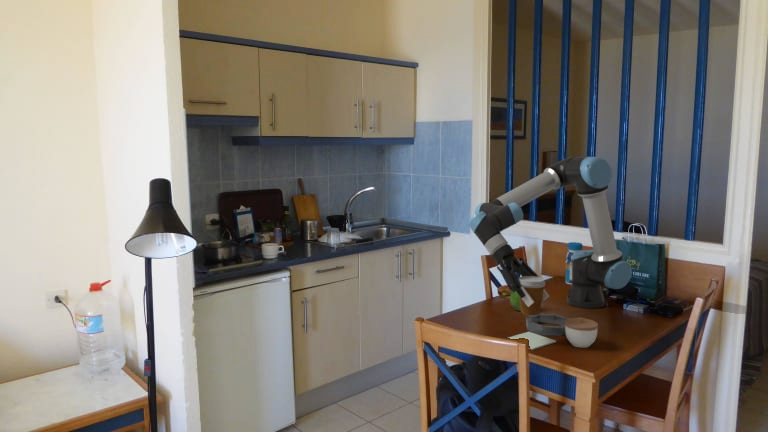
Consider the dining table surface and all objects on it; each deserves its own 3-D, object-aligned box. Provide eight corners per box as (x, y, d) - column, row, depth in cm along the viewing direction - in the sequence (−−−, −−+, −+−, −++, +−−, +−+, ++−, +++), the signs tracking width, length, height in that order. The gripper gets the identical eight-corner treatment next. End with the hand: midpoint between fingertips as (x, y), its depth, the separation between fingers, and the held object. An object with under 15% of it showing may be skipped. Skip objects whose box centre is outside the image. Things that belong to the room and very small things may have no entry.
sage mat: (528, 332, 200) (528, 331, 200) (556, 342, 191) (556, 340, 191) (505, 339, 194) (505, 338, 194) (532, 349, 184) (532, 348, 184)
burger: (516, 293, 255) (516, 283, 254) (521, 299, 246) (521, 289, 245) (495, 293, 255) (495, 284, 254) (499, 299, 246) (499, 289, 245)
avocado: (520, 314, 223) (521, 285, 221) (506, 309, 229) (506, 281, 228) (533, 310, 228) (534, 282, 226) (518, 306, 234) (519, 278, 232)
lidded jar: (589, 338, 194) (590, 312, 193) (602, 349, 183) (603, 322, 182) (559, 339, 193) (560, 313, 192) (570, 350, 183) (571, 323, 182)
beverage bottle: (570, 280, 278) (572, 241, 276) (586, 283, 272) (587, 243, 269) (561, 283, 273) (562, 243, 270) (577, 286, 266) (578, 245, 264)
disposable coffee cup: (545, 317, 185) (547, 282, 184) (516, 316, 187) (517, 281, 186) (543, 309, 195) (544, 276, 193) (515, 308, 196) (516, 275, 195)
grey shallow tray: (545, 319, 216) (545, 311, 216) (581, 329, 203) (581, 321, 203) (517, 326, 207) (517, 319, 207) (552, 338, 194) (552, 330, 194)
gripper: (510, 252, 207) (547, 301, 198) (475, 260, 192) (514, 314, 183) (523, 239, 203) (561, 289, 194) (488, 247, 187) (529, 301, 178)
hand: (538, 301), depth 188 cm, fingers closed on disposable coffee cup, 9 cm apart
